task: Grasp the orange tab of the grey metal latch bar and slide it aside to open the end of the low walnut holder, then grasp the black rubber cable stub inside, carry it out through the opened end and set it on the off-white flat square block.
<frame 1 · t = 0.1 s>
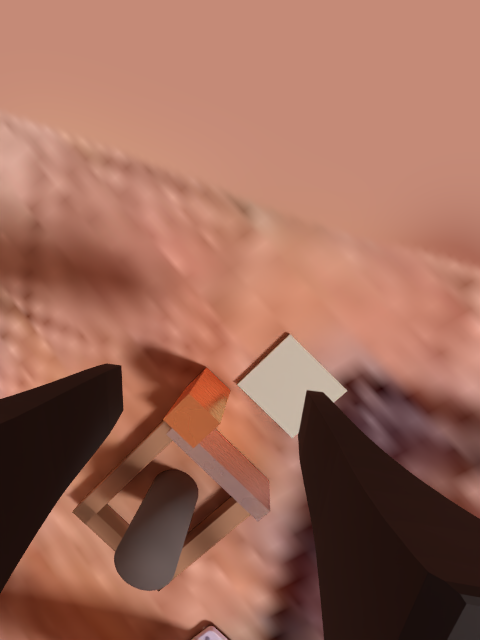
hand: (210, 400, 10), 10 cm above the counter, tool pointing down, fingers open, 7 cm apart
off-white flat square block: (290, 386, 21), on the counter
walnut holder: (167, 498, 23), on the counter
latch bar: (229, 449, 19), point 3 cm above the counter, slide at 0.0 cm
cable stub: (175, 491, 23), resting in walnut holder
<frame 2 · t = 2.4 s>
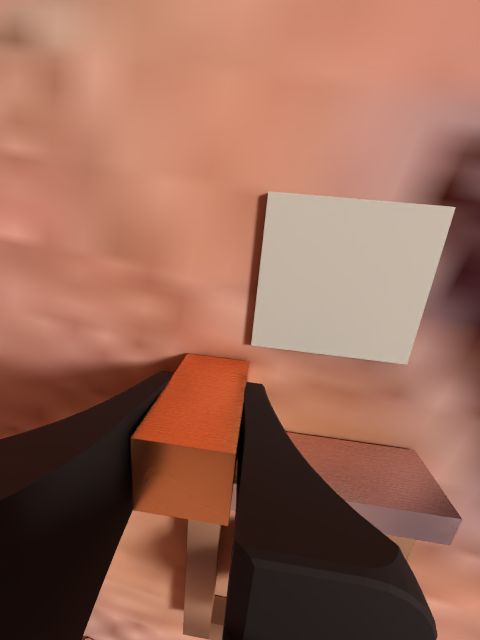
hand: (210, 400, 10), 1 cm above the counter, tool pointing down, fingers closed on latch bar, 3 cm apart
off-white flat square block: (340, 282, 10), on the counter
walnut holder: (284, 553, 14), on the counter
latch bar: (308, 460, 9), point 3 cm above the counter, slide at 0.0 cm, touching gripper
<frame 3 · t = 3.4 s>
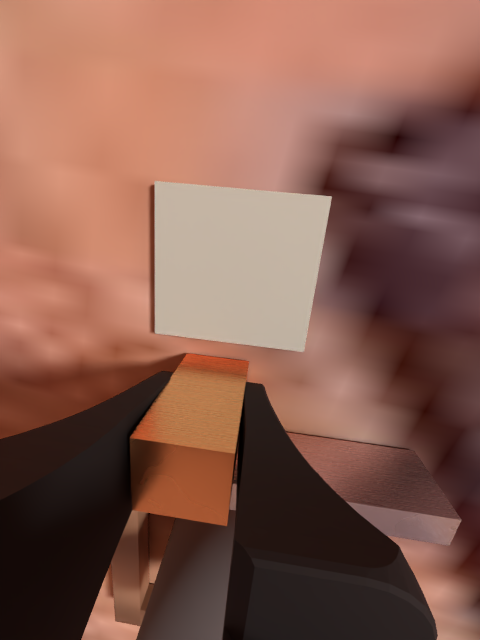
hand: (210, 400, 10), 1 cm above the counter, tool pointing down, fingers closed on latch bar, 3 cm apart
off-white flat square block: (235, 271, 10), on the counter
walnut holder: (211, 540, 15), on the counter
latch bar: (308, 460, 9), point 3 cm above the counter, slide at 3.9 cm, touching gripper
cable stub: (212, 526, 14), resting in walnut holder
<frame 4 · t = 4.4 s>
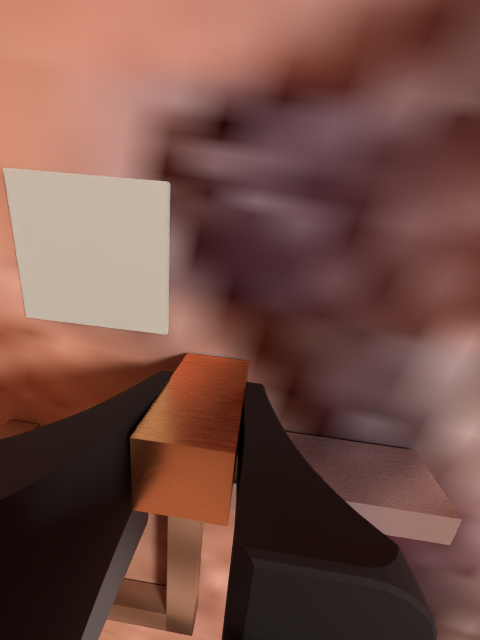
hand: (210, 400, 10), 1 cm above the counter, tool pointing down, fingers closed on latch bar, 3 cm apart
off-white flat square block: (94, 255, 11), on the counter
walnut holder: (113, 523, 15), on the counter
latch bar: (308, 459, 9), point 3 cm above the counter, slide at 9.5 cm, touching gripper
cable stub: (112, 509, 15), resting in walnut holder
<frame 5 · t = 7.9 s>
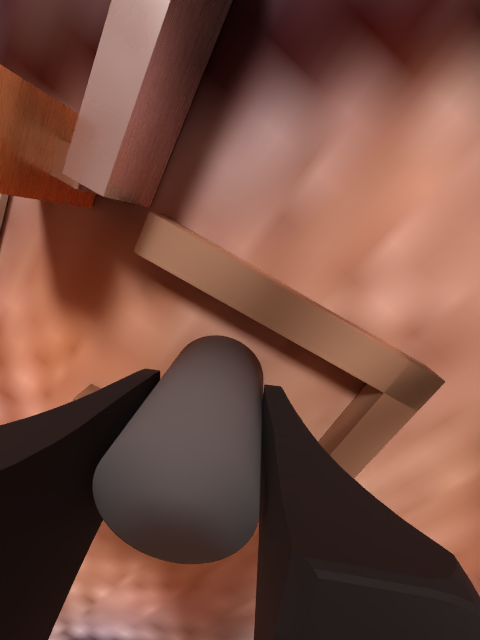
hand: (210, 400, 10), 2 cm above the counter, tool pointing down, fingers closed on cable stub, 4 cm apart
walnut holder: (237, 388, 12), on the counter
cable stub: (218, 377, 12), resting in walnut holder, touching gripper
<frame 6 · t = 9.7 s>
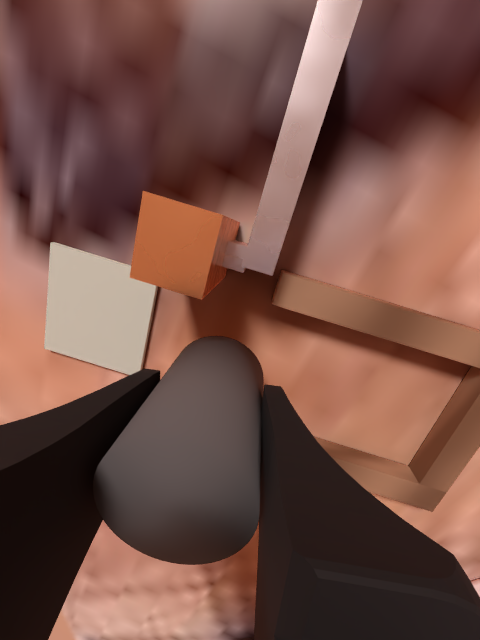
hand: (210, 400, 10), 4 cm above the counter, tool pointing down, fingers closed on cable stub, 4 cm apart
off-white flat square block: (100, 312, 15), on the counter
walnut holder: (358, 392, 15), on the counter
latch bar: (247, 145, 9), point 3 cm above the counter, slide at 9.5 cm
cable stub: (218, 378, 12), point 3 cm above the counter, touching gripper
when the fingers open (3 cm above the counter, at t = 11.6 s): cable stub stays where it is, resting on off-white flat square block.
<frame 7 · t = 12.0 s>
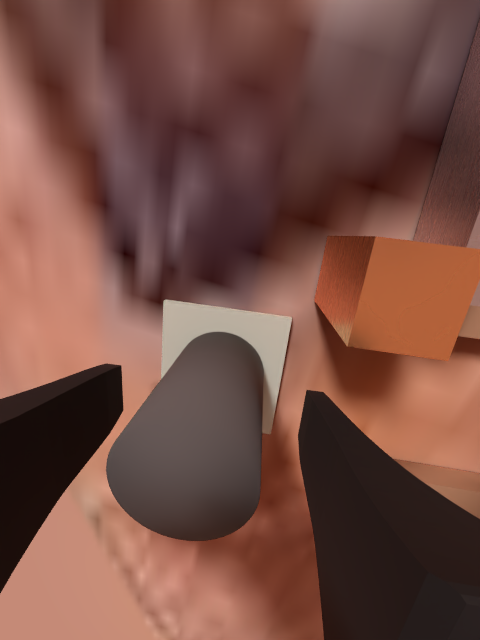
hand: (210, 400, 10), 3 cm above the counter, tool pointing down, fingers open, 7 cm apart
off-white flat square block: (221, 368, 13), on the counter
latch bar: (447, 152, 7), point 3 cm above the counter, slide at 9.5 cm
cable stub: (220, 372, 13), resting on off-white flat square block
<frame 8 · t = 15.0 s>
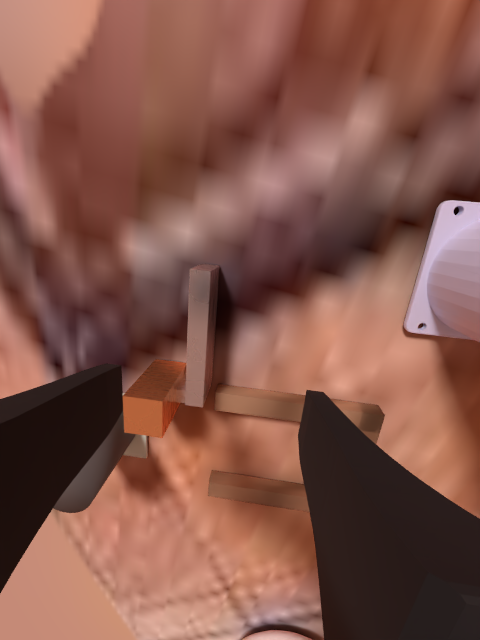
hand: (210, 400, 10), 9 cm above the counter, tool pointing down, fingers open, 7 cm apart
off-white flat square block: (115, 422, 23), on the counter
walnut holder: (287, 447, 22), on the counter
latch bar: (173, 345, 17), point 3 cm above the counter, slide at 9.5 cm
cable stub: (113, 425, 23), resting on off-white flat square block
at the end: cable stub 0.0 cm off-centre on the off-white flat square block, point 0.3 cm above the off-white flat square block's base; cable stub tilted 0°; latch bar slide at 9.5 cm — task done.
